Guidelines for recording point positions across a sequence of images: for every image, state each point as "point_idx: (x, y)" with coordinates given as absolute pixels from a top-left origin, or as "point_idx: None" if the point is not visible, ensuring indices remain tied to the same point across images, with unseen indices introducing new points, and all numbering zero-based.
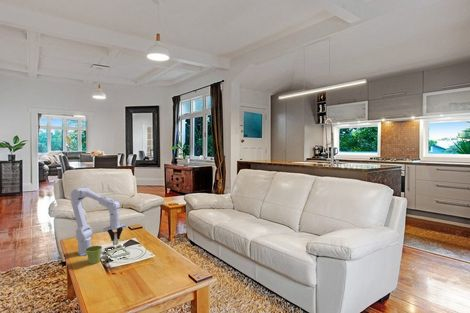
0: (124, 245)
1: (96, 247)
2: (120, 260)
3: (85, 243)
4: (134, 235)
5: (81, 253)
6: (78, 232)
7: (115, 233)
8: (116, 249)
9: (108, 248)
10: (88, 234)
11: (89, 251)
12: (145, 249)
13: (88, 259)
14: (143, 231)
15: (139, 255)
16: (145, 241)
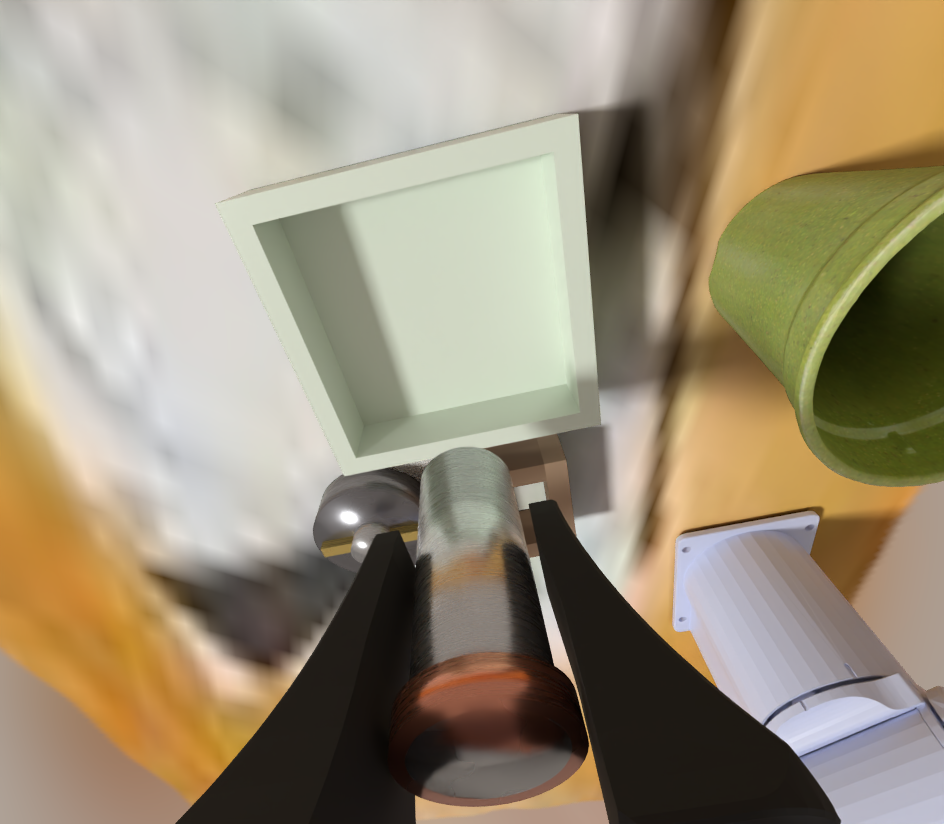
0: (327, 542)
1: (837, 446)
2: (420, 63)
3: (850, 648)
4: (237, 730)
5: (801, 546)
6: None
7: (487, 705)
8: (446, 436)
9: (530, 536)
10: (883, 813)
11: (936, 396)
12: (3, 349)
13: (925, 256)
14: (156, 769)
15: (54, 118)
16: (80, 590)
